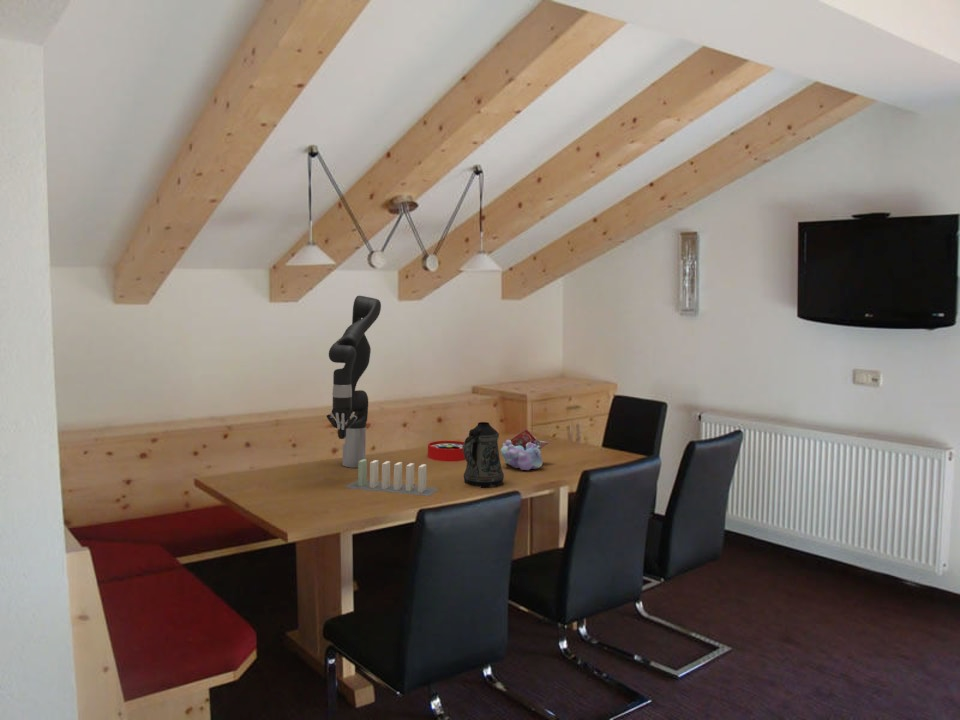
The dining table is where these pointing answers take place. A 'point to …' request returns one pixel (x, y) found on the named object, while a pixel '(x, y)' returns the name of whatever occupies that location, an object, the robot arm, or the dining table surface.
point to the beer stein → (482, 457)
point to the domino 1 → (362, 472)
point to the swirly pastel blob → (523, 451)
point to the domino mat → (391, 489)
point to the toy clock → (446, 451)
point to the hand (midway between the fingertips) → (341, 438)
